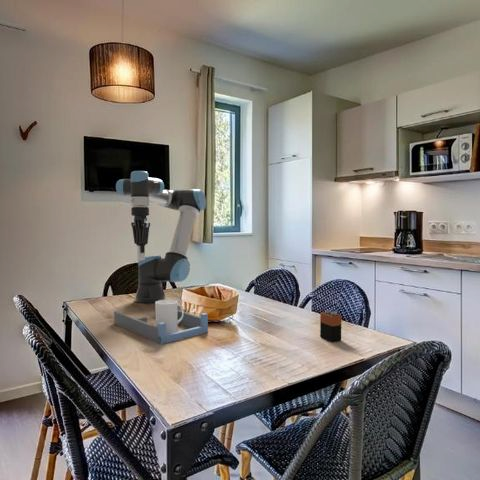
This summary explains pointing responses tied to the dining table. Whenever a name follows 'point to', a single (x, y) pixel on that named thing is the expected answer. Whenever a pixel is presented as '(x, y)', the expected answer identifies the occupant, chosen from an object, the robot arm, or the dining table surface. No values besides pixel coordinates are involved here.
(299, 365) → the dining table surface
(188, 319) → the grey rectangular frame
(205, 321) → the blue bezel
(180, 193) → the robot arm
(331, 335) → the battery
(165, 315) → the mug
